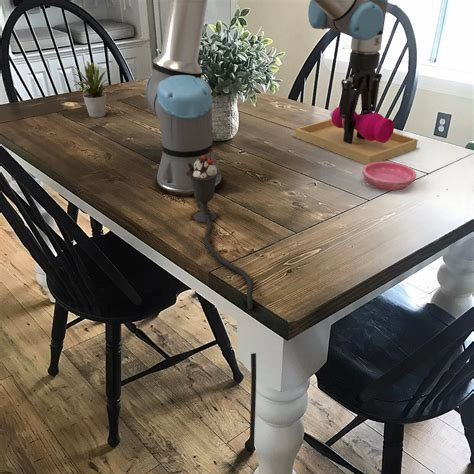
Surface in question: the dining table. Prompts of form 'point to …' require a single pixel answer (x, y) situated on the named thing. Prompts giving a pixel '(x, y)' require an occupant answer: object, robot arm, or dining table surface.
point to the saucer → (389, 175)
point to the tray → (354, 143)
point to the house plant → (93, 91)
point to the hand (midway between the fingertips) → (354, 140)
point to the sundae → (203, 184)
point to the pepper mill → (367, 125)
